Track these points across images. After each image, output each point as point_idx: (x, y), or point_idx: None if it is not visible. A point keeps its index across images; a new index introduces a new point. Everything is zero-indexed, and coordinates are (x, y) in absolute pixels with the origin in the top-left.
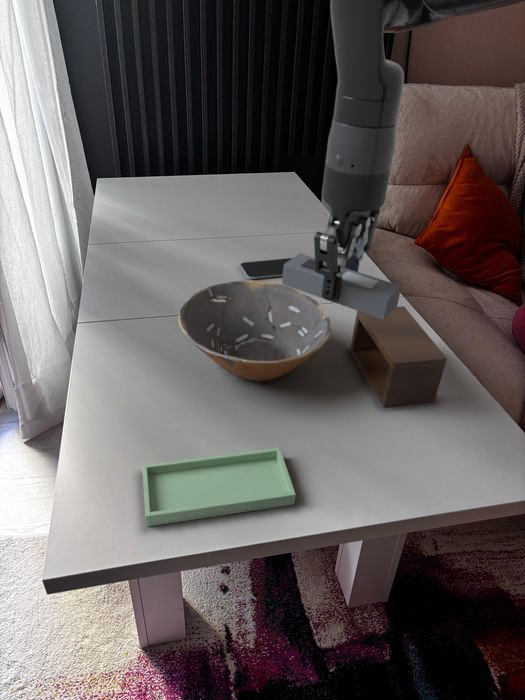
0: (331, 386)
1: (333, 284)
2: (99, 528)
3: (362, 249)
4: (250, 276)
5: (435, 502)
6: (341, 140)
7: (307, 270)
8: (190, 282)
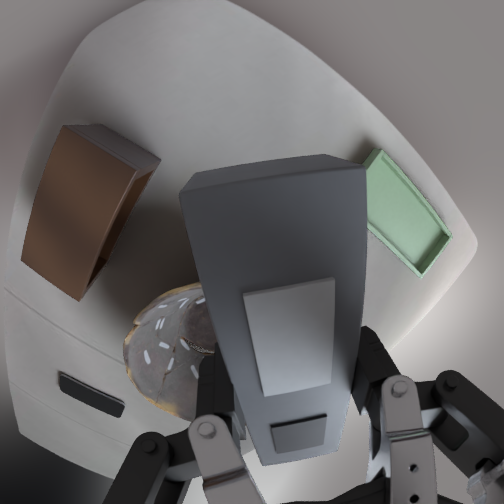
0: (180, 236)
1: (393, 362)
2: (455, 253)
3: (210, 460)
4: (122, 405)
5: (265, 31)
6: None
7: (334, 429)
8: (179, 425)
